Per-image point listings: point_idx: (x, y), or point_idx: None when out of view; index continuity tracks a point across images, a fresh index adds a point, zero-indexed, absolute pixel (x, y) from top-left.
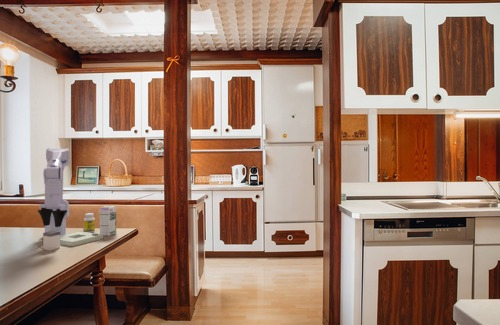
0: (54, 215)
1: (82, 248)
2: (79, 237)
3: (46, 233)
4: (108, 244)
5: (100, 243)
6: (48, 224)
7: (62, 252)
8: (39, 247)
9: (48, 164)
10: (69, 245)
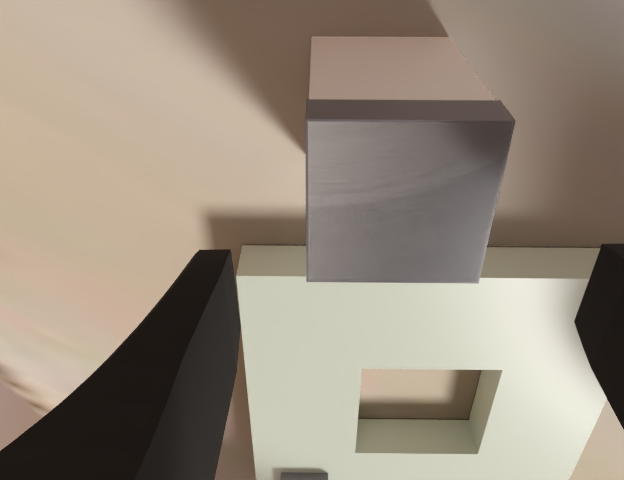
0: (60, 464)
1: (76, 242)
2: (354, 398)
3: (412, 119)
4: (36, 398)
5: None
6: (586, 317)
7: (75, 48)
8: (568, 63)
9: None
10: (288, 248)
